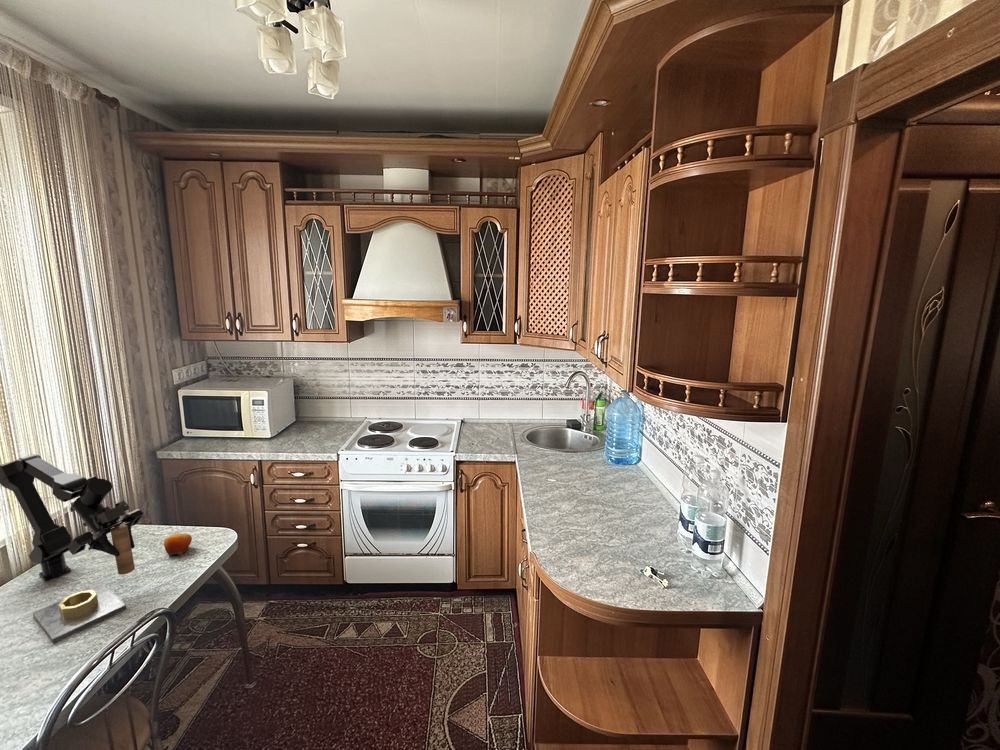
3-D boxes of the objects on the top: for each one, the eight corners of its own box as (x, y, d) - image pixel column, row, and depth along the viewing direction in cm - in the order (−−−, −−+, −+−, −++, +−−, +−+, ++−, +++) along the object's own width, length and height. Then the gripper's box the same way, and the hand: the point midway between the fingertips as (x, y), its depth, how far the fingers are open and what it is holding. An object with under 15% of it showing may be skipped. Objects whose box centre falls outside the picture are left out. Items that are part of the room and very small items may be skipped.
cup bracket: (33, 617, 134) (30, 603, 133) (103, 587, 147) (101, 574, 146) (53, 644, 124) (50, 629, 123) (126, 609, 137) (124, 595, 136)
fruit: (158, 559, 159) (160, 534, 162) (168, 559, 166) (169, 535, 169) (185, 555, 161) (187, 530, 164) (194, 555, 169) (195, 531, 171)
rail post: (117, 570, 144) (109, 528, 141) (133, 565, 147) (126, 523, 144) (119, 576, 141) (111, 533, 139) (136, 570, 144) (128, 528, 141)
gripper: (68, 512, 132) (104, 554, 131) (135, 484, 149) (167, 521, 149) (53, 534, 136) (88, 575, 135) (120, 504, 153) (152, 540, 152)
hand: (126, 551), depth 142 cm, fingers closed on rail post, 4 cm apart
